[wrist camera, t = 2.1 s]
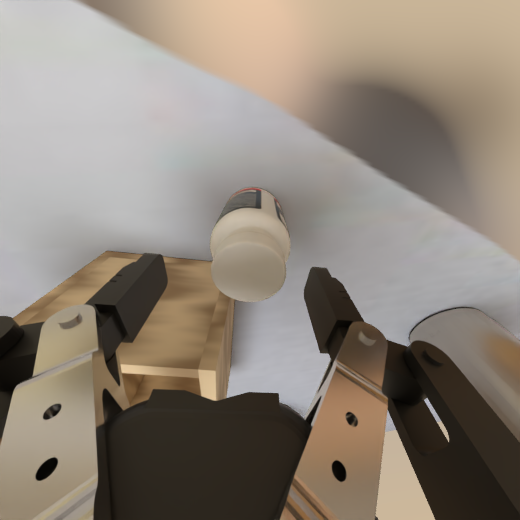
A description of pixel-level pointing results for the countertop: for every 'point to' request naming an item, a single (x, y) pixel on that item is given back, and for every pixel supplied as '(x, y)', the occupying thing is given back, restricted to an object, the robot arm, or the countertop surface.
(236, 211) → the pill bottle
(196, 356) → the wooden box
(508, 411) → the robot arm
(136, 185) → the countertop surface
